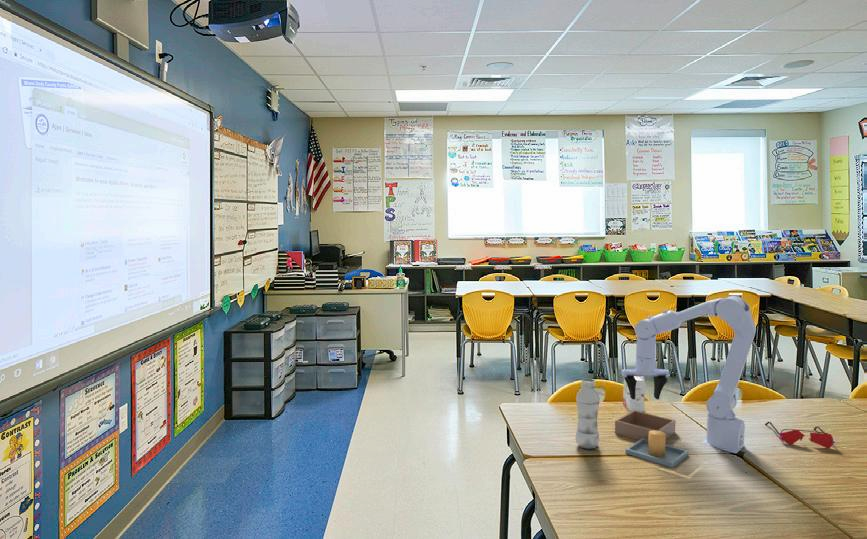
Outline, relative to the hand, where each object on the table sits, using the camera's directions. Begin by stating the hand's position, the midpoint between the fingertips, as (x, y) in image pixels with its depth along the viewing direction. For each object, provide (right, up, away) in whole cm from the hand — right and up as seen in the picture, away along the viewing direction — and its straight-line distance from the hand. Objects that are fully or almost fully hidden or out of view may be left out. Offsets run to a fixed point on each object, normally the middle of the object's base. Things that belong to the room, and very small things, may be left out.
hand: (644, 398), depth 170 cm
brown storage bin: (-2, -10, -6) cm, 12 cm away
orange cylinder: (-5, -11, -21) cm, 24 cm away
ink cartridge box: (+3, -8, +18) cm, 20 cm away
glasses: (+44, -11, -7) cm, 46 cm away
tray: (-5, -11, -21) cm, 24 cm away
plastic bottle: (-23, -11, -15) cm, 29 cm away
